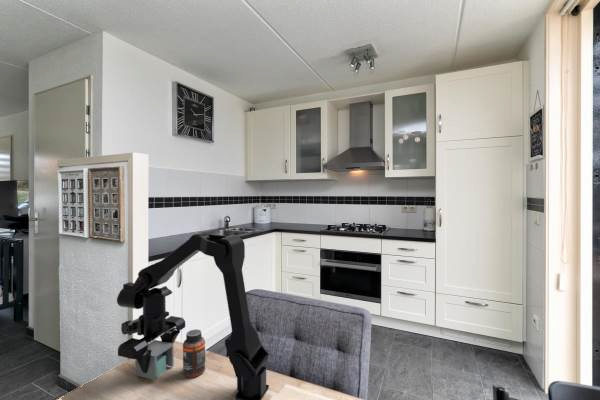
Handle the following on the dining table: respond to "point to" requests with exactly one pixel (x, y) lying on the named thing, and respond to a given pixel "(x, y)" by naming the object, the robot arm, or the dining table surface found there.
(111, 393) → the dining table surface
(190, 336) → the supplement bottle
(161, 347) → the grey arch block
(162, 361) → the cube
